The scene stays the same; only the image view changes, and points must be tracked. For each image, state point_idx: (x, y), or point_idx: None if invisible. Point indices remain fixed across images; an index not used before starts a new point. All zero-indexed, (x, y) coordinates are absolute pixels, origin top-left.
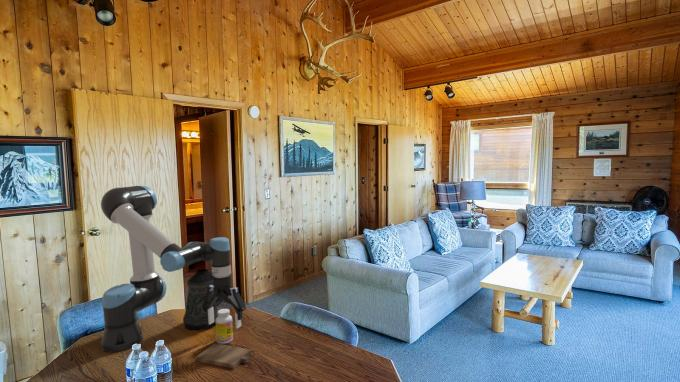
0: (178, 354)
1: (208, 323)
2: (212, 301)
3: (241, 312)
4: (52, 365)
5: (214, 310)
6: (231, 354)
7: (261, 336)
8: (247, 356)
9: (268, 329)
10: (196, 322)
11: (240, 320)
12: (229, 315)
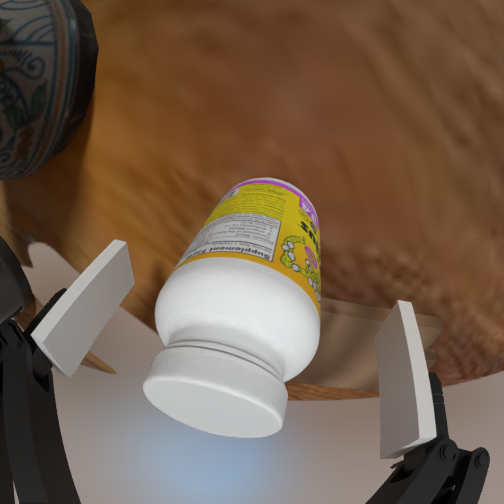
0: (151, 326)
1: (65, 124)
2: (68, 468)
3: (442, 435)
4: (22, 328)
5: (13, 72)
6: (369, 359)
7: (477, 160)
8: (430, 360)
9: (489, 66)
10: (27, 172)
11: (417, 350)
12: (278, 342)
